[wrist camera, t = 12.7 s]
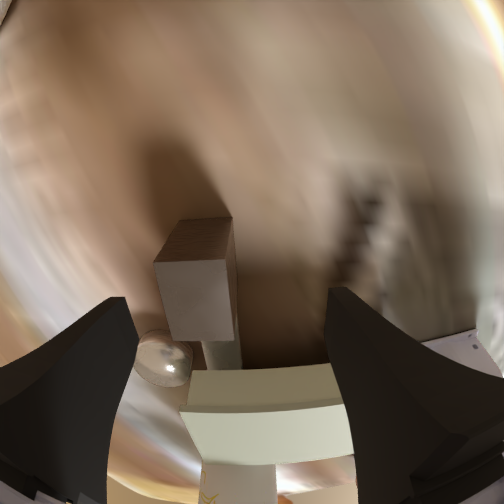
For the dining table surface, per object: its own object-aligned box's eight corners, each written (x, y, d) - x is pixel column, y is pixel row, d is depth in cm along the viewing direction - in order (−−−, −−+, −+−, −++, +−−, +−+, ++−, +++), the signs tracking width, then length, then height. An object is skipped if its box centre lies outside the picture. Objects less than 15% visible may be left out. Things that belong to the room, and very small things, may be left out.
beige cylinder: (209, 410, 28) (199, 508, 17) (281, 417, 29) (288, 512, 18) (203, 440, 31) (195, 519, 20) (264, 446, 32) (267, 524, 21)
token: (185, 327, 23) (180, 347, 21) (199, 367, 25) (196, 387, 23) (132, 329, 23) (123, 347, 21) (150, 368, 25) (144, 386, 23)
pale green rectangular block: (387, 322, 23) (422, 386, 16) (366, 389, 27) (385, 446, 20) (194, 336, 23) (179, 411, 16) (211, 402, 27) (205, 464, 20)
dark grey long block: (232, 217, 19) (225, 259, 13) (246, 377, 25) (246, 431, 20) (179, 220, 19) (153, 262, 13) (210, 378, 25) (203, 430, 20)
